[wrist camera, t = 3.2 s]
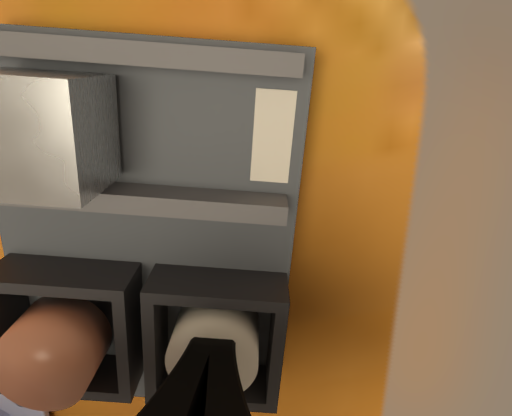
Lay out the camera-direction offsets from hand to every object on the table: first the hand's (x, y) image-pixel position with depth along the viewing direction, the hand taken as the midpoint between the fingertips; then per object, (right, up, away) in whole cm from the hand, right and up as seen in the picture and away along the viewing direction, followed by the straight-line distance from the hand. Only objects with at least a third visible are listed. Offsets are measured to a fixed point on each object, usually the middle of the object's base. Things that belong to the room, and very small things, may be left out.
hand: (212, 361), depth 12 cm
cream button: (0, +1, +2) cm, 2 cm away
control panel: (-2, +4, +3) cm, 6 cm away
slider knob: (-4, +7, -1) cm, 9 cm away
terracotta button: (-5, +1, +1) cm, 5 cm away
